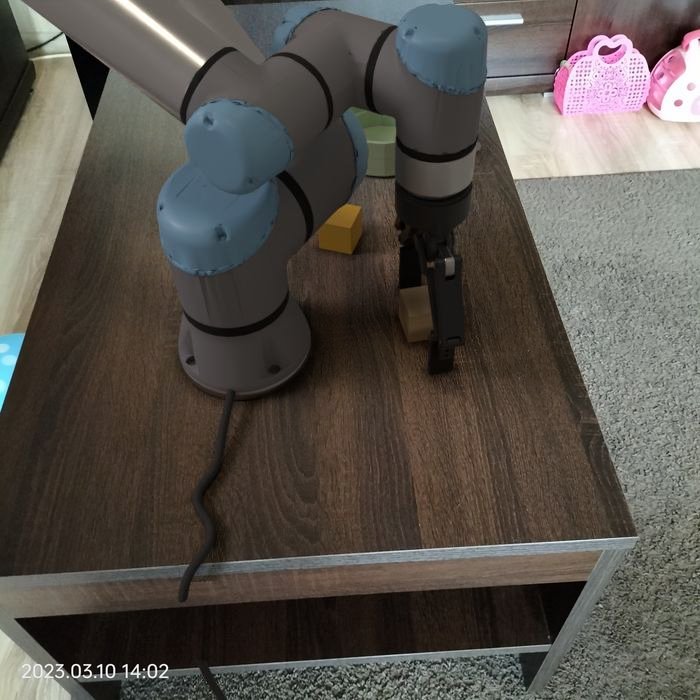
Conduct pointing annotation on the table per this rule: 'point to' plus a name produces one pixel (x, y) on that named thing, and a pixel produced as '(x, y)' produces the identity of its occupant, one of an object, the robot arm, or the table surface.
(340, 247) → the mustard block
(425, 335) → the beech block
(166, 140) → the table surface
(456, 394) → the table surface
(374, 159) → the pale green pet bowl
